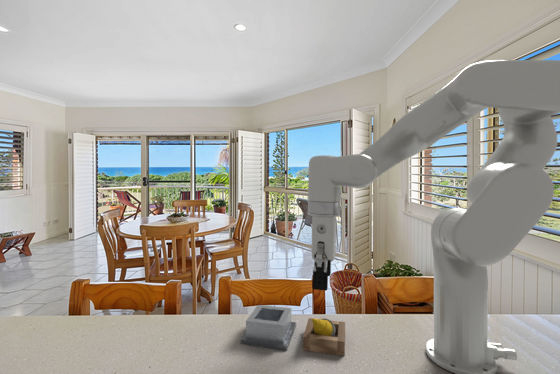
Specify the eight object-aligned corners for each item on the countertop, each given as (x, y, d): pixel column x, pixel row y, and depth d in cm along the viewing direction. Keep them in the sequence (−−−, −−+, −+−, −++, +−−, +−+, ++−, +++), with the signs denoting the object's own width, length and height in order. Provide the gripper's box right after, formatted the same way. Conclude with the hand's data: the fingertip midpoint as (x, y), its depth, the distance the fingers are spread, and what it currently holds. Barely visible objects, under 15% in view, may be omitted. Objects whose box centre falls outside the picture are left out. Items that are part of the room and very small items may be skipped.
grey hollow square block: (296, 326, 73) (295, 307, 73) (286, 350, 63) (286, 328, 63) (255, 321, 76) (255, 303, 76) (240, 343, 65) (240, 322, 65)
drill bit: (341, 345, 65) (324, 327, 60) (320, 350, 67) (302, 333, 62) (337, 322, 70) (321, 304, 64) (318, 327, 71) (300, 310, 66)
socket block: (345, 334, 69) (345, 321, 69) (344, 355, 61) (344, 341, 61) (308, 329, 72) (308, 318, 72) (303, 350, 63) (303, 336, 63)
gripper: (338, 213, 57) (336, 298, 57) (341, 206, 73) (339, 272, 74) (301, 211, 58) (299, 294, 59) (312, 205, 75) (311, 269, 75)
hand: (322, 281), depth 66 cm, fingers open, 9 cm apart
